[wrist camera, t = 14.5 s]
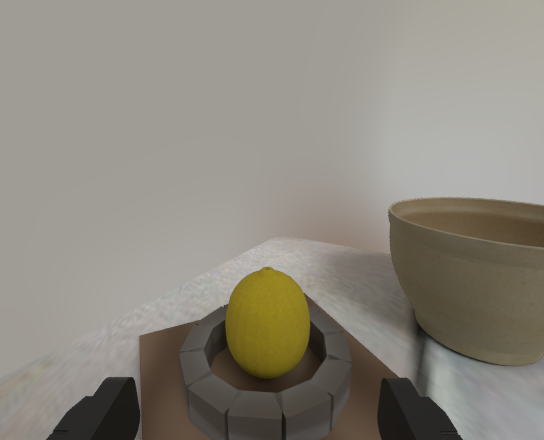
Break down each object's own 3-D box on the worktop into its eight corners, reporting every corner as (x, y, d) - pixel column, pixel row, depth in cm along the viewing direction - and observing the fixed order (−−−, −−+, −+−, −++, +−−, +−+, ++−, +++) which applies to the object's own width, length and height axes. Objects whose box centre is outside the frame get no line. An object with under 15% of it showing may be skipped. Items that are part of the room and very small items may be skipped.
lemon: (212, 373, 20) (204, 268, 18) (268, 336, 24) (268, 245, 21) (267, 427, 16) (266, 302, 14) (324, 372, 20) (330, 267, 18)
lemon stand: (303, 301, 30) (304, 271, 29) (447, 436, 16) (458, 388, 16) (140, 345, 24) (135, 309, 23) (151, 633, 10) (138, 571, 9)
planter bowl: (520, 293, 32) (544, 198, 29) (684, 433, 17) (771, 262, 14) (369, 279, 35) (378, 192, 32) (392, 383, 20) (412, 239, 17)
